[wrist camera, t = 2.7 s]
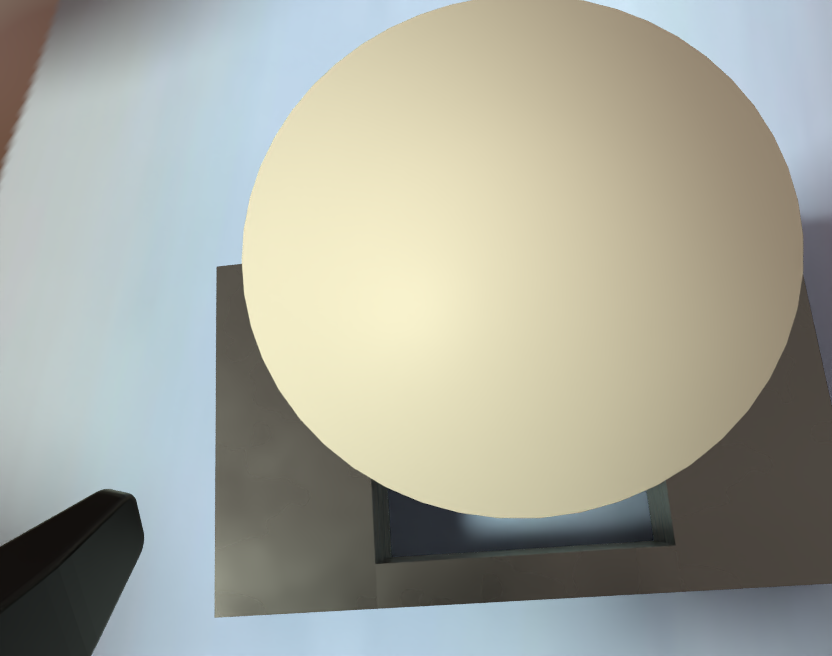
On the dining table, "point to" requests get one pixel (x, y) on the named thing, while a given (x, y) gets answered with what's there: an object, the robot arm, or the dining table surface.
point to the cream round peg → (522, 257)
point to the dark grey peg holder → (518, 568)
